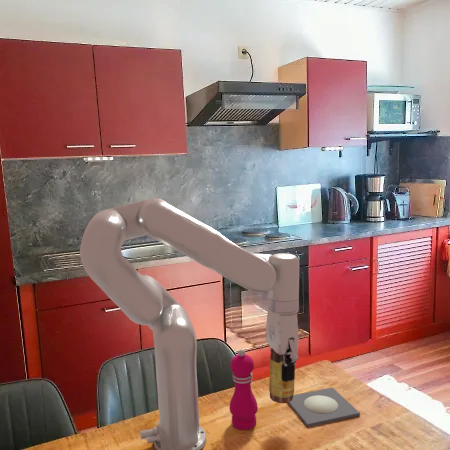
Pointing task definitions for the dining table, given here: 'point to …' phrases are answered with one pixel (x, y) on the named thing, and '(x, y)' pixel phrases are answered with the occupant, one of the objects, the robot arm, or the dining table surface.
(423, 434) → the dining table surface
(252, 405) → the pepper mill
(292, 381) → the sauce bottle
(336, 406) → the bottle mat
